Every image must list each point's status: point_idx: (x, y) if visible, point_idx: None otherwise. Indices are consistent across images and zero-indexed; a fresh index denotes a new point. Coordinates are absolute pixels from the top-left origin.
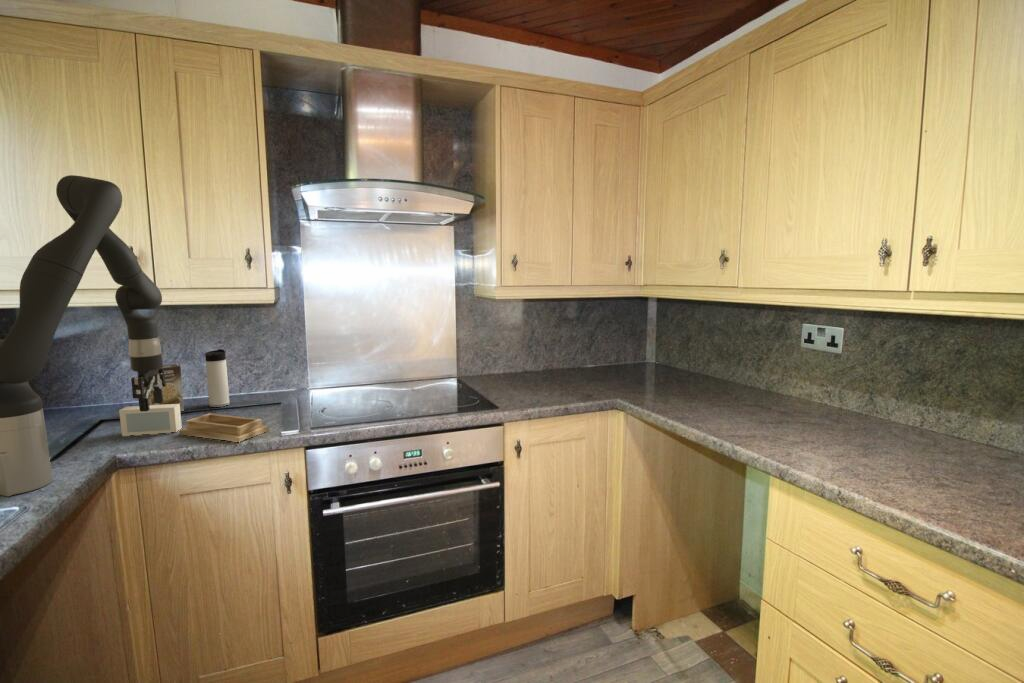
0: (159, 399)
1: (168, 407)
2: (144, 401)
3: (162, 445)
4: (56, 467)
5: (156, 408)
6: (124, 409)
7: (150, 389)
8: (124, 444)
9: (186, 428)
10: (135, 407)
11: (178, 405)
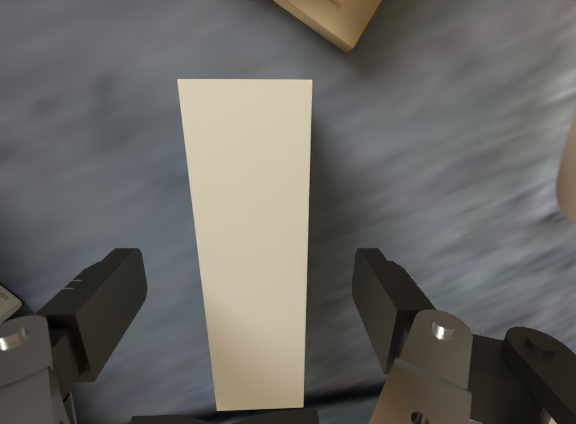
0: (128, 278)
1: (304, 132)
2: (432, 307)
3: (492, 79)
4: (572, 333)
5: (307, 219)
6: (290, 391)
7: (432, 377)
8: (408, 247)
9: (329, 13)
10: (252, 358)
11: (210, 79)
